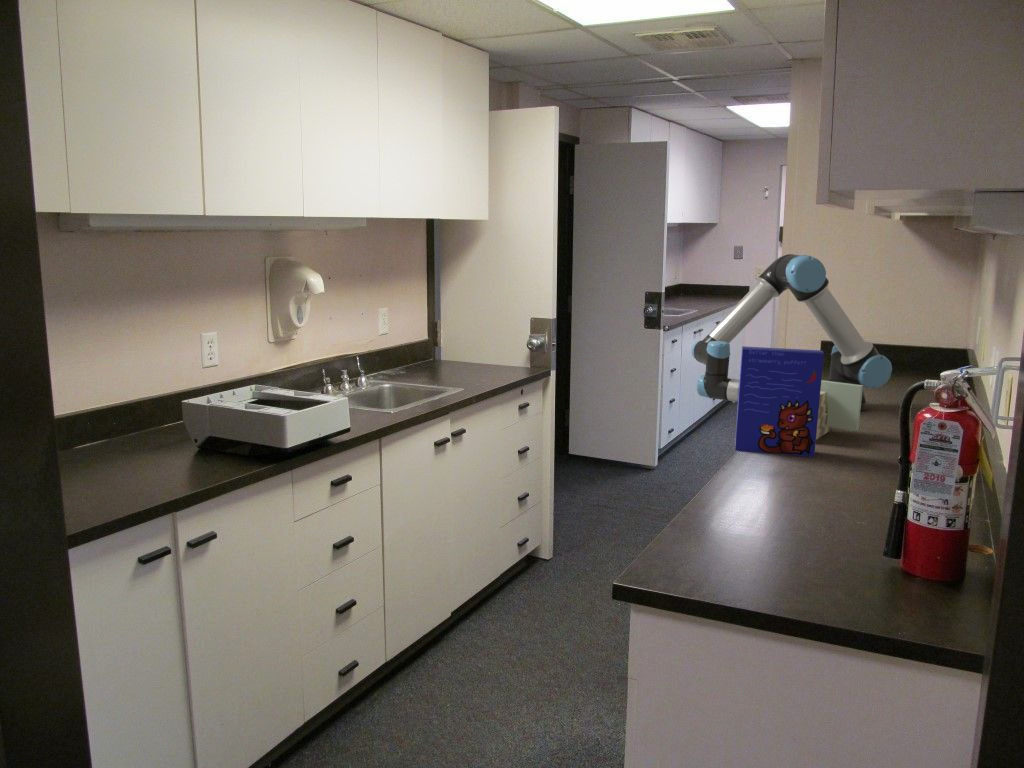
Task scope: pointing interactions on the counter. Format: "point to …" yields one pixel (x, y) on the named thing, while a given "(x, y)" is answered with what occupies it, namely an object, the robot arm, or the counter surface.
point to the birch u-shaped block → (822, 415)
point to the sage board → (843, 404)
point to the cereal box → (778, 400)
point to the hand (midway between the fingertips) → (815, 401)
